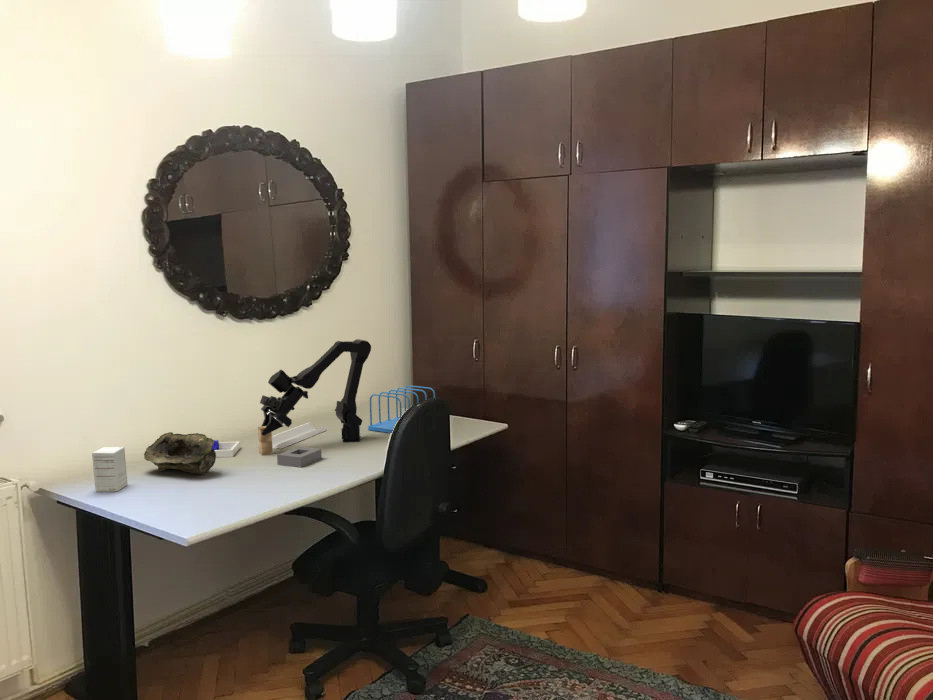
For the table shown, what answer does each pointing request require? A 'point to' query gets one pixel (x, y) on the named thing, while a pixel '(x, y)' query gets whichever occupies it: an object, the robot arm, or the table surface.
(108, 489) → the supplement box
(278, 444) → the crown molding
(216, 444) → the cable holder
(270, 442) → the tan wooden block
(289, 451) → the end cap
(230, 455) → the tray
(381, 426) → the file sorter
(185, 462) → the hollow geode rock
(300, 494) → the table surface
